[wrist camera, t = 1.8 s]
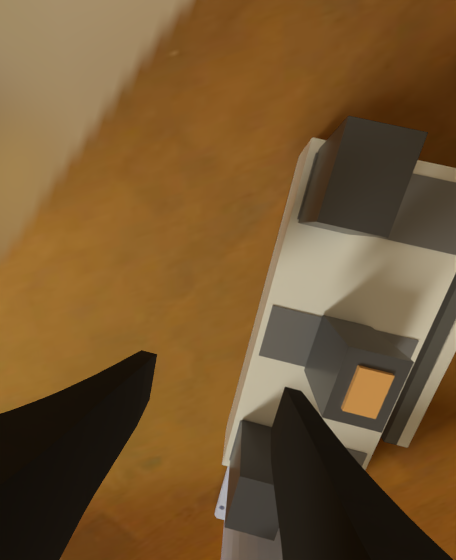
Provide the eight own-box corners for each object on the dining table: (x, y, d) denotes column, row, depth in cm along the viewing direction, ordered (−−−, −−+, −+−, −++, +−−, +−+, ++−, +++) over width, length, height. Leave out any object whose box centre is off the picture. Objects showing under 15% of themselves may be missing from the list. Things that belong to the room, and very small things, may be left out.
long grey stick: (400, 437, 20) (407, 447, 19) (377, 431, 20) (384, 441, 20) (488, 253, 17) (503, 255, 16) (461, 247, 17) (474, 248, 16)
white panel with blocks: (335, 455, 21) (380, 577, 14) (226, 427, 22) (214, 530, 14) (446, 187, 16) (614, 155, 9) (299, 155, 16) (339, 98, 9)
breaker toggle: (349, 381, 16) (383, 436, 12) (304, 370, 16) (322, 420, 12) (370, 326, 15) (417, 364, 11) (322, 314, 15) (350, 348, 11)
